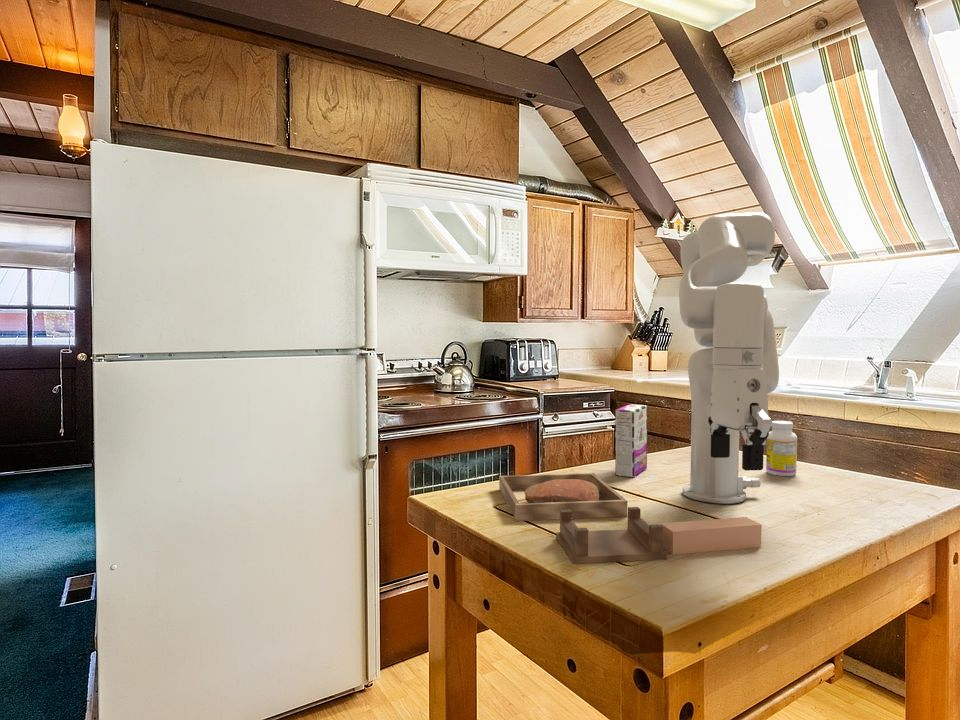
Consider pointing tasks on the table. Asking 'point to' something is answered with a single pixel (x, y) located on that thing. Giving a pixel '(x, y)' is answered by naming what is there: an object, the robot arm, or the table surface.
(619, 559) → the rack
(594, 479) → the low wooden frame
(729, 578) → the table surface
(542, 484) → the ceramic shard
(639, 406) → the candy bar box
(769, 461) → the supplement bottle
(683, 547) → the tan pink long block
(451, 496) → the table surface
